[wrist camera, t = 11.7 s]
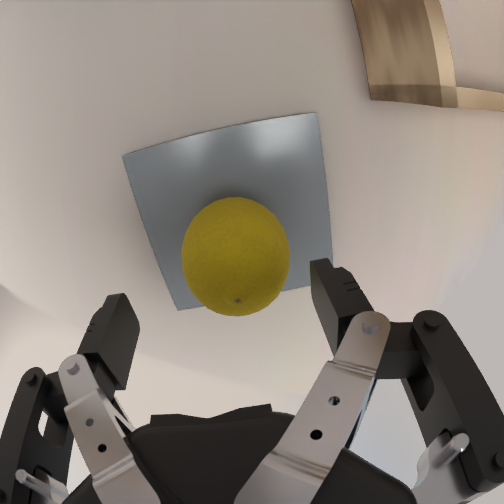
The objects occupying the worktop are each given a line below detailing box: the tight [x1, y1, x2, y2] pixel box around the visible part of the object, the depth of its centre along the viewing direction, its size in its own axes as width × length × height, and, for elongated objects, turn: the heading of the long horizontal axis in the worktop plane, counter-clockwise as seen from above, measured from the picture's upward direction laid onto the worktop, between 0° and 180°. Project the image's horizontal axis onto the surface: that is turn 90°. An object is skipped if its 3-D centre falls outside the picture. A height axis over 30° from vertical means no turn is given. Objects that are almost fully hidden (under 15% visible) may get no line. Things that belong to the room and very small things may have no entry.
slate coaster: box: [122, 112, 333, 311], centre depth 19 cm, size 12×12×1 cm
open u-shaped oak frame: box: [351, 0, 504, 112], centre depth 10 cm, size 11×19×8 cm, turn 101°
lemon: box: [181, 197, 290, 316], centre depth 16 cm, size 6×6×8 cm
